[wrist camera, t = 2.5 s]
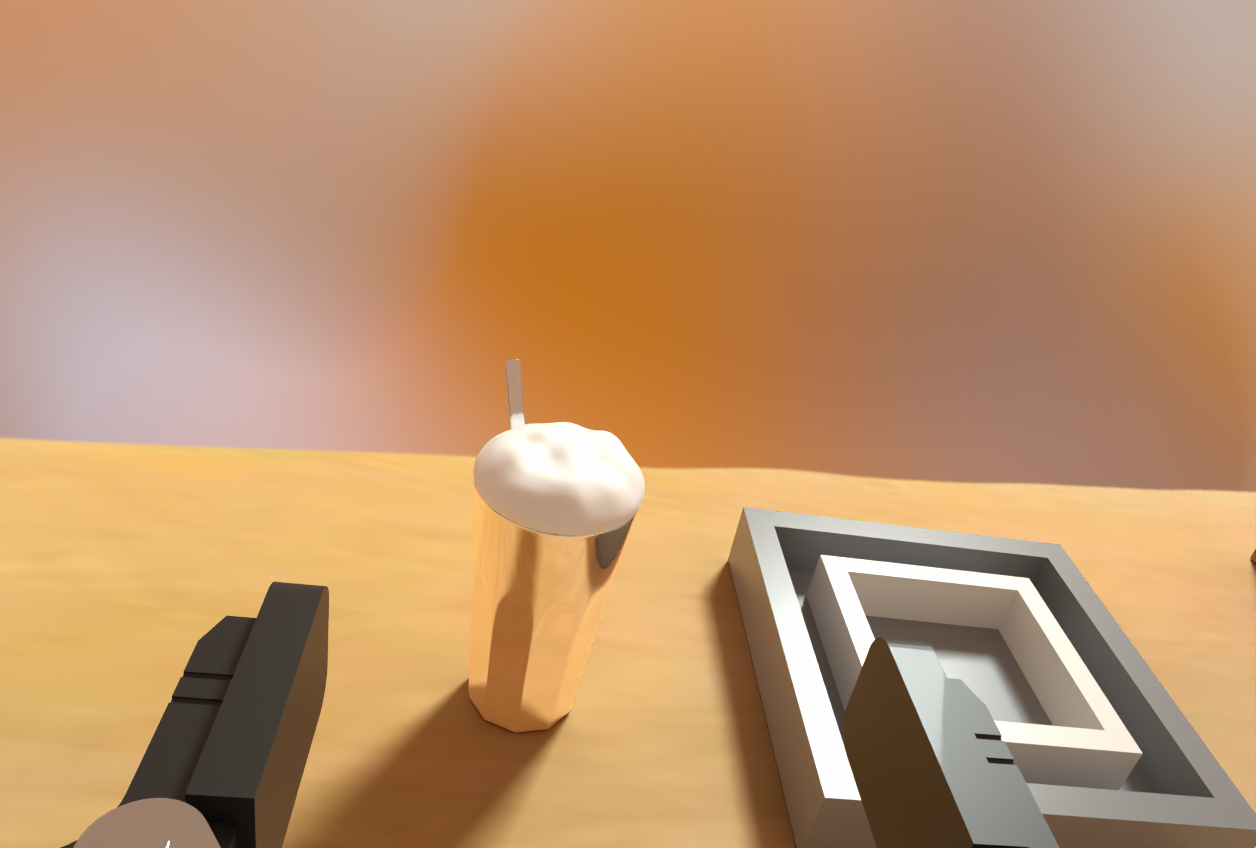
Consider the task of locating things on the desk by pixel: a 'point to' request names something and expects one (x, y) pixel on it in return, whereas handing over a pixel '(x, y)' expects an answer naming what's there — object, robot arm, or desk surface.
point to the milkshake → (543, 560)
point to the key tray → (1254, 556)
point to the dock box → (971, 678)
